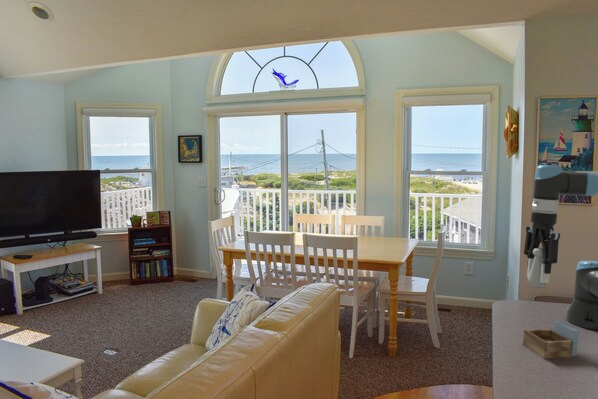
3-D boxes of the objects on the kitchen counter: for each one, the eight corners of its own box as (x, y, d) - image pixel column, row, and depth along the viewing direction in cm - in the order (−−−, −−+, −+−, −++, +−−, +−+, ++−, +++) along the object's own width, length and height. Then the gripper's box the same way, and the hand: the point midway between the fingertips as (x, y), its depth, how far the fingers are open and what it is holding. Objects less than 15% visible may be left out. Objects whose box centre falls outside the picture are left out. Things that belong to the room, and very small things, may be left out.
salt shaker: (548, 289, 151) (552, 251, 149) (530, 288, 152) (533, 249, 150) (543, 284, 156) (547, 247, 155) (525, 283, 157) (528, 246, 156)
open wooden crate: (549, 343, 147) (550, 329, 147) (571, 357, 138) (573, 341, 137) (522, 344, 146) (524, 329, 145) (543, 358, 136) (545, 342, 136)
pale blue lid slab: (557, 344, 147) (559, 320, 146) (576, 355, 139) (579, 330, 138) (551, 344, 147) (554, 320, 146) (570, 356, 139) (573, 330, 138)
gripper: (516, 207, 160) (510, 272, 162) (554, 215, 141) (547, 288, 144) (535, 208, 161) (529, 272, 164) (576, 216, 143) (568, 288, 145)
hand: (537, 279), depth 154 cm, fingers closed on salt shaker, 6 cm apart
